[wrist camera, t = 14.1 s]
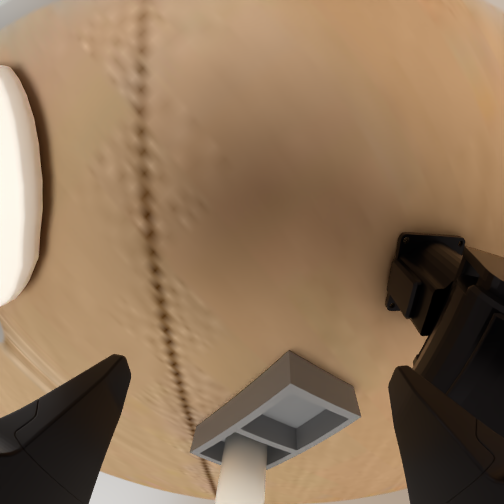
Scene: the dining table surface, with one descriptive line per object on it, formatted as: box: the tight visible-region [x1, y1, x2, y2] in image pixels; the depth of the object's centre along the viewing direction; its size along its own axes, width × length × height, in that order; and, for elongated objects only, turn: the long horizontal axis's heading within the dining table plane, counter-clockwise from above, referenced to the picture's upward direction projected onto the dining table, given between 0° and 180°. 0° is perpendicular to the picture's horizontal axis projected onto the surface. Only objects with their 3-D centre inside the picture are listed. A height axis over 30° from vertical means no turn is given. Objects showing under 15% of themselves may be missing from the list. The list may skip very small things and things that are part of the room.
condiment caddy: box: [190, 351, 361, 470], centre depth 25 cm, size 16×9×4 cm, turn 144°
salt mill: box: [215, 432, 268, 504], centre depth 21 cm, size 5×5×14 cm
